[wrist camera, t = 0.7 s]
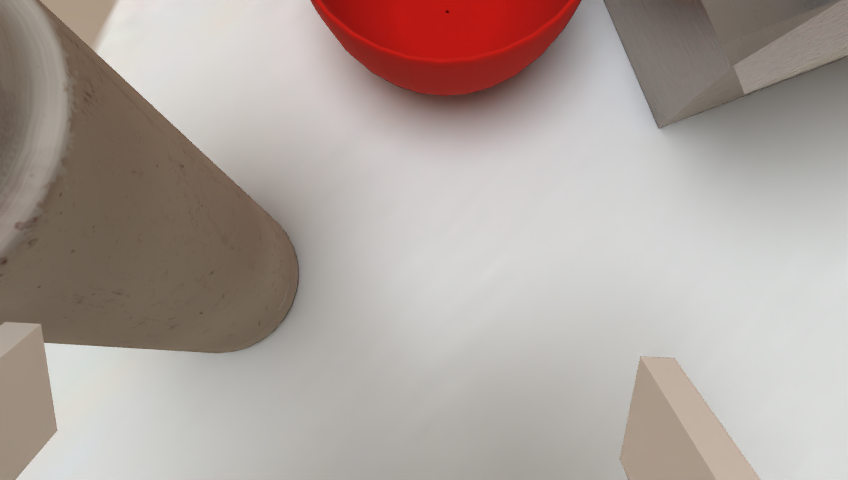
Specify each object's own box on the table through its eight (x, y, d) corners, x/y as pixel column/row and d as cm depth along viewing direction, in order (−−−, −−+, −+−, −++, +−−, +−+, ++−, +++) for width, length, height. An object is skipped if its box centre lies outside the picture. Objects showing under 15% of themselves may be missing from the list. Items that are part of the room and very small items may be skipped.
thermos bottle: (121, 317, 34) (-1173, 114, 7) (189, 181, 35) (-649, -461, 8) (259, 377, 33) (-539, 431, 6) (323, 236, 35) (-83, -255, 7)
